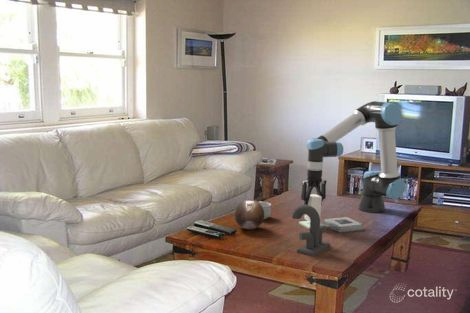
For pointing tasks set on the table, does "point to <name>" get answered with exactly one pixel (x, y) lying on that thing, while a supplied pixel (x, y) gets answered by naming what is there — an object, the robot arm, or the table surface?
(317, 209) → the peg
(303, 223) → the pad
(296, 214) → the faucet
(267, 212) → the teacup
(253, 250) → the table surface
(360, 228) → the socket plate
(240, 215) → the bronze metal ball
